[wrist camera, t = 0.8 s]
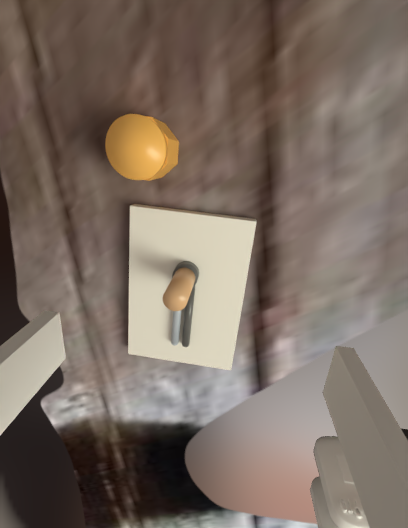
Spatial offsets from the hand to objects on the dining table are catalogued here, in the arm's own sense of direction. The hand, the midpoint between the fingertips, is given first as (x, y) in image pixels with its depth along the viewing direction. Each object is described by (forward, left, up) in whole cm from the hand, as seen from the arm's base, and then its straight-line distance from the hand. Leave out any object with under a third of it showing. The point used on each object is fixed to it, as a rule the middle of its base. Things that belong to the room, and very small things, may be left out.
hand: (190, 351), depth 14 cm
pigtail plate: (+7, -3, -21) cm, 22 cm away
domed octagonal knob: (-9, -8, -21) cm, 24 cm away
